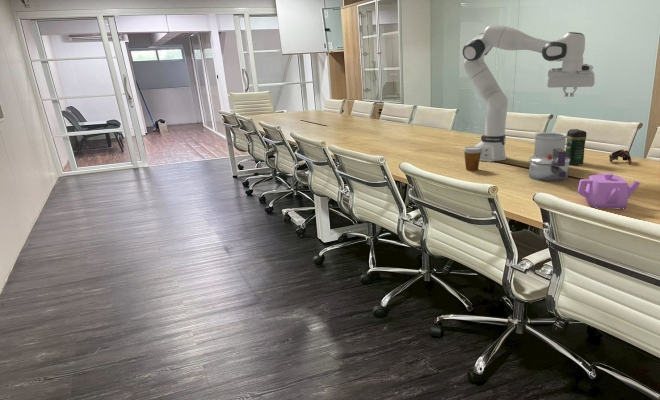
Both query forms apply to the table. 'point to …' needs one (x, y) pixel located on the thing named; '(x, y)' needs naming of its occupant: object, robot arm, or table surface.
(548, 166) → the pot
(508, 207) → the table surface
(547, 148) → the utensil holder
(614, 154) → the brown arched piece
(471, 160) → the disposable coffee cup
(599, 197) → the teakettle
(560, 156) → the lid
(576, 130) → the coffee jar
